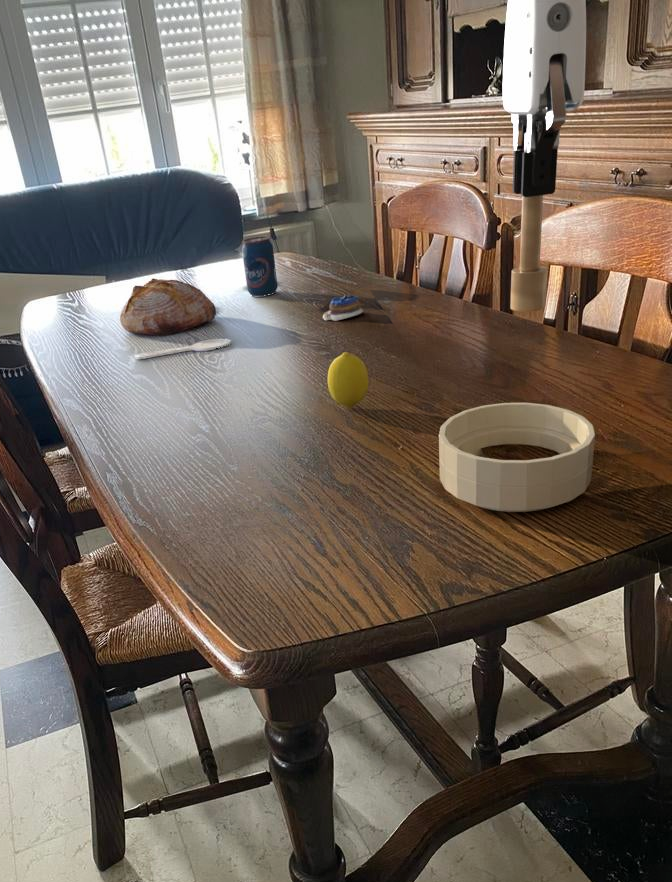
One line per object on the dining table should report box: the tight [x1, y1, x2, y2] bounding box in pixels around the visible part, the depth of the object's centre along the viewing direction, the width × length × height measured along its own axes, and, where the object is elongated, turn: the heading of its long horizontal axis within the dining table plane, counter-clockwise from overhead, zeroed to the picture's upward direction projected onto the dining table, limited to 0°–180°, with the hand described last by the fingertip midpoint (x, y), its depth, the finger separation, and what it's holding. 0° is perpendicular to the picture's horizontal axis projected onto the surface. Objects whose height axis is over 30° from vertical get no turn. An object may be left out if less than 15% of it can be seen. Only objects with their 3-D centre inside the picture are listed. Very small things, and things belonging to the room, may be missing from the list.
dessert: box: [322, 294, 364, 322], centre depth 146 cm, size 8×7×6 cm
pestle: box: [509, 132, 548, 313], centre depth 76 cm, size 4×4×17 cm
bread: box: [119, 277, 217, 337], centre depth 153 cm, size 16×20×10 cm
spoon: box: [133, 338, 232, 360], centre depth 138 cm, size 5×18×1 cm, turn 100°
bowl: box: [438, 402, 596, 513], centre depth 78 cm, size 15×15×6 cm
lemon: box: [327, 351, 370, 410], centre depth 102 cm, size 6×6×8 cm
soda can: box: [241, 236, 279, 297], centre depth 168 cm, size 7×7×12 cm
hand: (533, 192), depth 75 cm, fingers closed on pestle, 2 cm apart
